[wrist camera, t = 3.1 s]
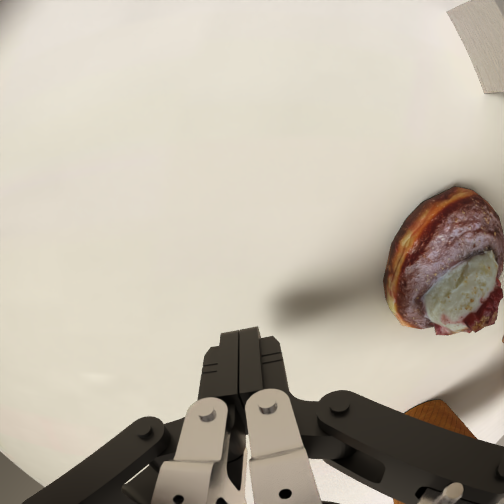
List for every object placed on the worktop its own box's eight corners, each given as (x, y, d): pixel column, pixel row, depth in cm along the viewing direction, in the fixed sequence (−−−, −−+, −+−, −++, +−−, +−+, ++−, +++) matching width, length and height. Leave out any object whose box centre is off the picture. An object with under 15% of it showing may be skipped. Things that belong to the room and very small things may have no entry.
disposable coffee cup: (476, 387, 17) (537, 478, 6) (411, 453, 20) (447, 542, 9) (416, 378, 16) (493, 516, 5) (339, 455, 19) (370, 574, 7)
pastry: (400, 342, 15) (440, 399, 10) (352, 239, 13) (406, 288, 8) (493, 267, 14) (545, 301, 9) (467, 157, 11) (538, 171, 7)
